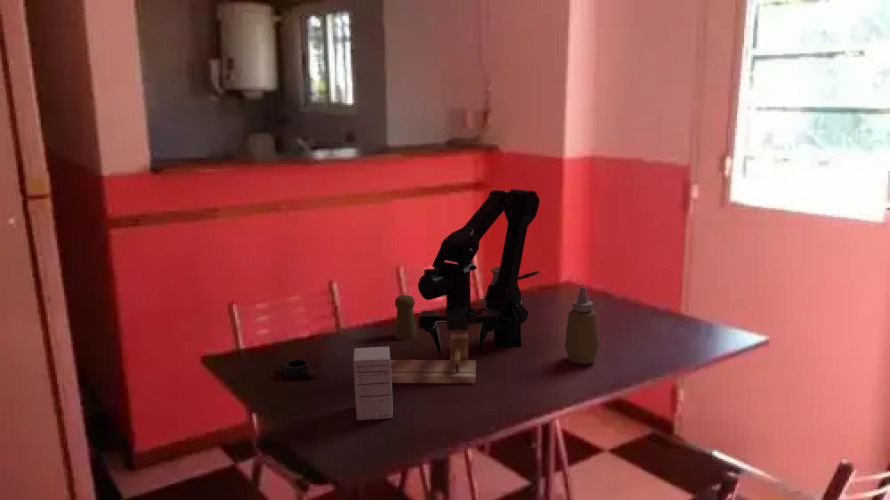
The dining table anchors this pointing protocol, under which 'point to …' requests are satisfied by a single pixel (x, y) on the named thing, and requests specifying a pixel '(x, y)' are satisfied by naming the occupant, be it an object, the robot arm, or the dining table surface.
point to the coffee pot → (495, 277)
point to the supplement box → (373, 383)
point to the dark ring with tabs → (297, 369)
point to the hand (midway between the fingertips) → (459, 354)
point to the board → (432, 371)
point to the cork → (405, 318)
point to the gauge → (458, 349)
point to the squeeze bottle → (582, 331)
